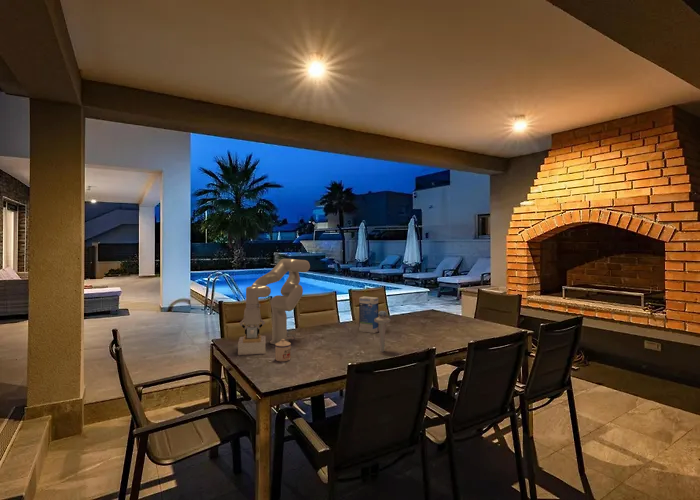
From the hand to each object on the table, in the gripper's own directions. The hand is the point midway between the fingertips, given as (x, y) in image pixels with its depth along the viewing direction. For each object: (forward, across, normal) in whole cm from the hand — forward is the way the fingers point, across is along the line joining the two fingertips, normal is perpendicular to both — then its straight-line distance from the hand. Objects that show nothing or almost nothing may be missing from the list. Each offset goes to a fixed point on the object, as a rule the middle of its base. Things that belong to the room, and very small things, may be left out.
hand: (252, 334), depth 237 cm
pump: (+1, 0, +1) cm, 2 cm away
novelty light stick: (+10, -79, +17) cm, 81 cm away
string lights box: (+10, -84, -35) cm, 92 cm away
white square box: (+10, 0, 0) cm, 10 cm away
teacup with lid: (+10, -19, +20) cm, 29 cm away
